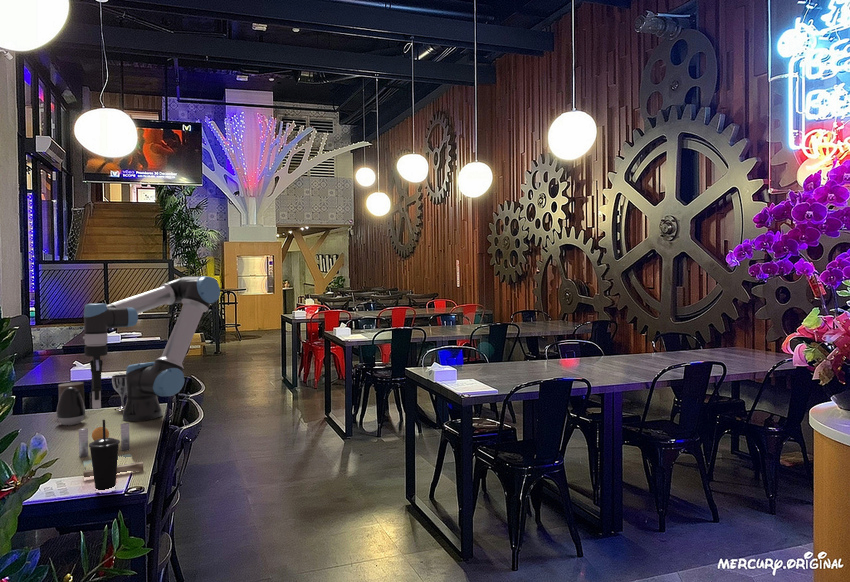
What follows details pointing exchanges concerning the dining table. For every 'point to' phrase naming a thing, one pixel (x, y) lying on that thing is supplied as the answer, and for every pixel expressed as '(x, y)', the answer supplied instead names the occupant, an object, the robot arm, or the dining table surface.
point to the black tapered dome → (70, 407)
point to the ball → (99, 433)
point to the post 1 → (83, 442)
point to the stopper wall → (120, 468)
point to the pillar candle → (73, 384)
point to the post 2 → (125, 437)
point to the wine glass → (120, 386)
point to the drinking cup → (104, 461)
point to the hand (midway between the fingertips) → (96, 408)
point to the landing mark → (91, 460)
